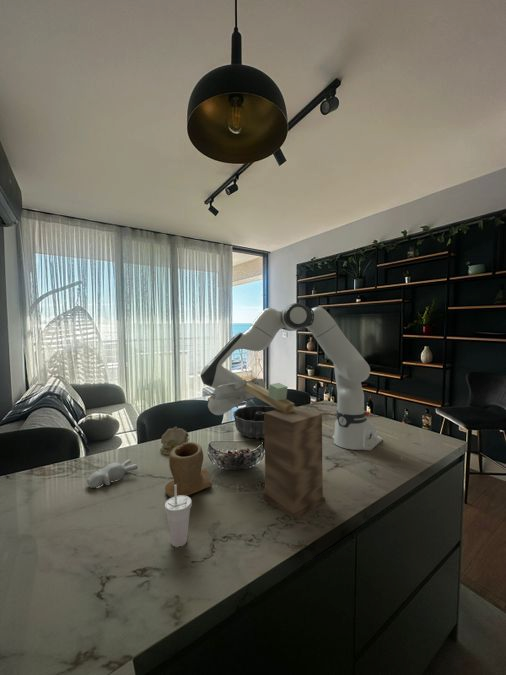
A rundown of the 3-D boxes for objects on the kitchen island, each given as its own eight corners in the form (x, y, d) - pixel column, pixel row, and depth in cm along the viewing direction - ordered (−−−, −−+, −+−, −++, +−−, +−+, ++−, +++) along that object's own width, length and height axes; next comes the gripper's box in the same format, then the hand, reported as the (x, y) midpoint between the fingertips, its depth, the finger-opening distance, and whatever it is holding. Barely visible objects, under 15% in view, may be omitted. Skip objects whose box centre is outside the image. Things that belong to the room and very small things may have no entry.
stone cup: (173, 508, 85) (172, 457, 84) (161, 489, 95) (160, 443, 94) (220, 491, 93) (219, 444, 93) (205, 475, 103) (204, 433, 103)
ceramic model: (154, 455, 121) (153, 431, 121) (165, 444, 132) (165, 422, 132) (187, 456, 119) (187, 431, 119) (196, 445, 130) (195, 422, 130)
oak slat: (250, 388, 106) (251, 381, 106) (293, 411, 89) (294, 403, 89) (242, 389, 104) (243, 382, 104) (285, 413, 87) (286, 405, 87)
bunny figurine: (83, 472, 99) (127, 452, 110) (85, 486, 100) (129, 465, 110) (92, 482, 93) (138, 460, 103) (95, 497, 93) (140, 474, 104)
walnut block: (293, 483, 97) (292, 405, 96) (325, 501, 87) (324, 414, 86) (263, 497, 89) (261, 412, 88) (293, 519, 79) (292, 423, 78)
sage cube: (277, 394, 95) (279, 382, 94) (286, 398, 92) (287, 386, 91) (268, 396, 93) (269, 384, 92) (276, 401, 90) (277, 388, 89)
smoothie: (168, 533, 75) (167, 478, 74) (194, 531, 75) (192, 477, 75) (163, 552, 68) (161, 493, 68) (191, 550, 69) (189, 491, 68)
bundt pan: (296, 429, 148) (296, 409, 148) (270, 447, 126) (270, 424, 126) (252, 420, 162) (251, 402, 162) (222, 436, 140) (221, 415, 140)
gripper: (206, 390, 108) (222, 376, 98) (250, 383, 120) (269, 369, 111) (210, 407, 106) (228, 394, 96) (255, 397, 118) (275, 385, 108)
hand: (250, 380), depth 103 cm, fingers closed on oak slat, 3 cm apart
